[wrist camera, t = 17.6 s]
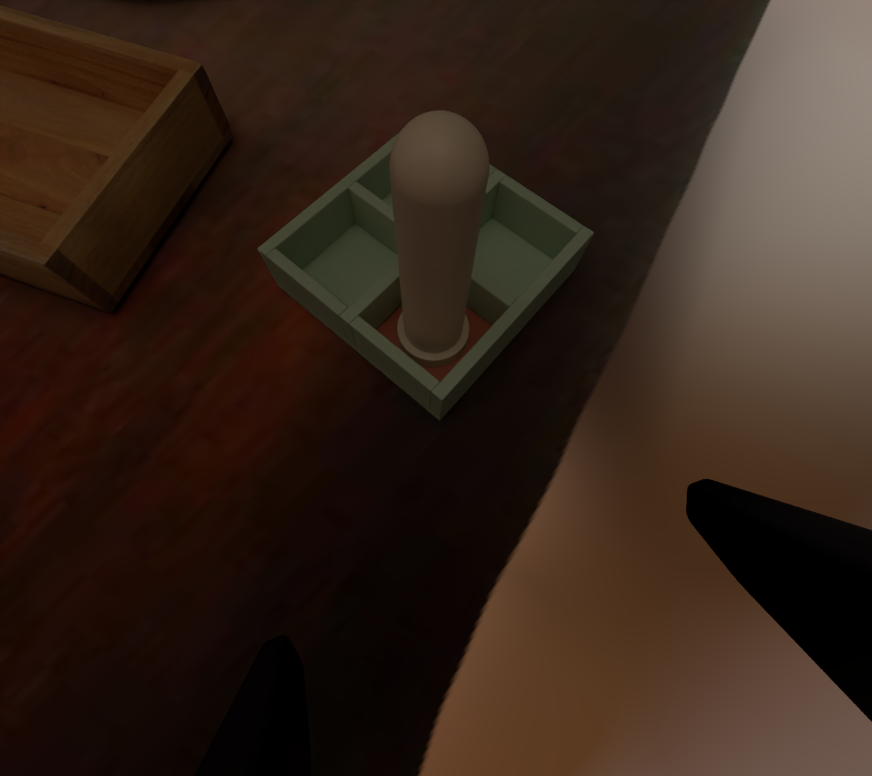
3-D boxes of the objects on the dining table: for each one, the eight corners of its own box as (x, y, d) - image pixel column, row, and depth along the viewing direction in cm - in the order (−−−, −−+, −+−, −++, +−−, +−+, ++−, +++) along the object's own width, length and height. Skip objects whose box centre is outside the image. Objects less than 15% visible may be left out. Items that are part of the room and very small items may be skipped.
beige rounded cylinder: (462, 372, 25) (502, 188, 12) (391, 361, 25) (357, 167, 12) (472, 310, 26) (517, 85, 13) (405, 299, 26) (386, 67, 13)
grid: (573, 270, 28) (594, 232, 25) (439, 421, 24) (442, 400, 21) (419, 164, 31) (418, 116, 27) (277, 285, 27) (256, 248, 24)
